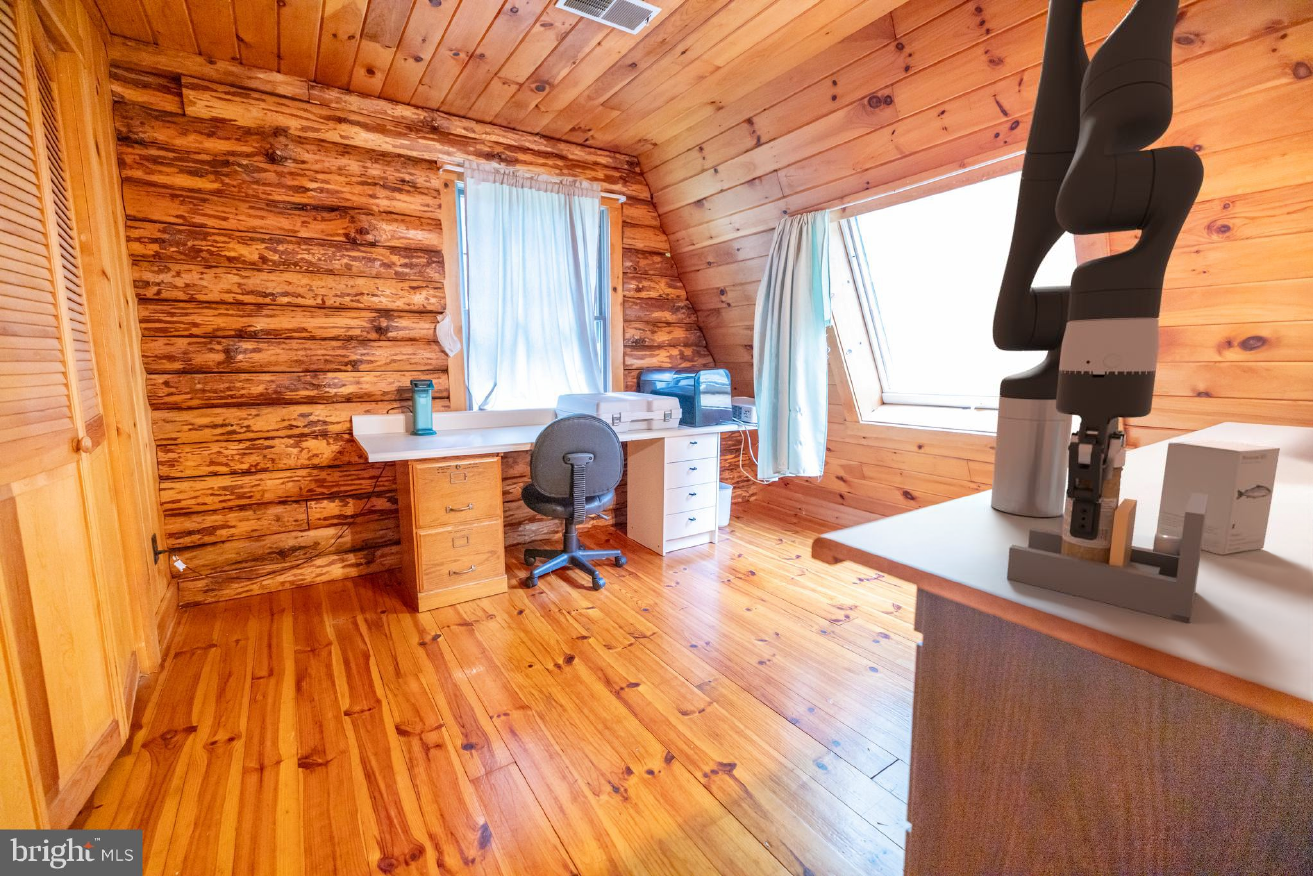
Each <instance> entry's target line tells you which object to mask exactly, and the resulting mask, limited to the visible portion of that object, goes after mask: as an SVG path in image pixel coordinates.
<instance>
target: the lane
mask: <svg viewBox="0 0 1313 876" xmlns="http://www.w3.org/2000/svg"><path fill="white" fill-rule="evenodd" d="M1208 497H1209V495H1208V494H1200V493H1192V494H1191V497H1190V500H1189V502H1188V505H1187V508H1186V511H1185V518H1184V525H1183V533H1182V538H1180V537H1174V536H1167V535H1161V534H1156V533H1155V534H1154V538H1153V539H1154V540H1153V546H1152V547H1153V548H1146V547H1141V546H1135V545H1132V549H1131V558H1130V562H1135V563H1140V564H1145V565H1150V566H1155V567H1160V574H1154V573H1149V572H1144V571H1139V570H1135V569H1130V568H1125V567H1120V566H1115V565H1110V564H1105V563H1100V562H1095V561H1091V560H1086V559H1081V558H1076V557H1071V556H1066V555H1061V549H1062V539H1063V538H1062V532H1059V531H1053V530H1049V529H1048V530H1047V529H1042V528H1036V527H1032V528H1030V529H1029V532H1028V533H1029V535H1028V544H1027V546H1021V545H1017V544H1011V545H1010V546H1009V547H1008V549H1009V550H1008V562H1007V573H1006V575H1007V576H1006V579H1008V580H1011V581H1016V582H1020V583H1023V584H1028V585H1032V586H1036V587H1040V588H1044V589H1047V590H1048V589H1049V590H1052V591H1056V592H1060V593H1065V594H1067V595H1072V596H1077V597H1080V598H1085V599H1089V600H1093V601H1097V602H1102V603H1105V604H1108V605H1109V604H1110V605H1114V606H1118V607H1121V608H1125V609H1129V610H1135V611H1137V612H1142V613H1146V614H1150V615H1154V616H1158V617H1163V618H1165V619H1166V618H1167V619H1171V620H1176V621H1179V622H1183V623H1187V624H1190V622H1191V617H1192V612H1193V607H1194V601H1195V595H1196V589H1197V583H1198V575H1199V569H1200V562H1201V554H1202V550H1201V548H1202V541H1203V533H1204V526H1205V519H1206V512H1207V504H1208Z"/></svg>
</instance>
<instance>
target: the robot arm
mask: <svg viewBox="0 0 1313 876" xmlns="http://www.w3.org/2000/svg"><path fill="white" fill-rule="evenodd" d="M1094 1H1095V2H1096V0H1049V2H1048V12H1047V19H1046V27H1045V36H1044V45H1043V53H1042V54H1043V55H1042V62H1041V69H1040V75H1039V80H1038V81H1039V83H1038V86H1037V87H1038V88H1037V90H1036V91H1037V92H1036V98H1035V101H1034V102H1035V103H1034V107H1033V108H1034V109H1033V113H1032V118H1031V123H1030V128H1029V132H1028V137H1027V141H1026V146H1025V151H1024V157H1023V161H1022V162H1023V163H1022V168H1021V174H1020V181H1019V189H1018V196H1017V201H1016V202H1017V203H1016V210H1015V218H1014V225H1013V229H1012V230H1013V232H1012V235H1011V241H1010V246H1009V251H1008V256H1007V259H1006V263H1005V268H1004V271H1003V274H1002V280H1001V284H1000V288H999V293H998V295H997V301H996V305H995V309H994V315H993V322H992V340H993V343H994V345H995V347H996V348H997V349H998V350H1001V351H1005V352H1044V351H1045V352H1046V356H1045V358H1044V360H1043V361H1041V362H1040V363H1039V364H1037V365H1036V366H1034V367H1032V368H1029V369H1027V370H1025V371H1021V372H1018V373H1015V374H1011V375H1008V376H1006V377H1004V378H1003V379H1001V382H1000V385H999V399H998V409H997V411H998V412H997V422H996V423H997V425H996V426H997V427H996V436H995V437H996V438H995V447H994V461H993V475H992V476H993V477H992V486H991V488H992V489H991V499H990V500H991V501H990V506H991V507H992V508H994V509H996V510H997V511H998V510H999V511H1001V512H1005V513H1007V514H1008V513H1009V514H1013V515H1018V516H1027V517H1037V518H1038V517H1039V518H1051V517H1052V518H1053V517H1059V516H1062V515H1063V514H1064V507H1065V497H1066V494H1067V497H1068V498H1071V500H1072V501H1073V504H1072V514H1071V523H1070V535H1071V536H1072V537H1075V538H1080V539H1086V540H1095V539H1096V538H1097V537H1098V531H1099V522H1100V513H1101V505H1102V502H1103V501H1104V499H1105V497H1104V489H1105V484H1106V483H1107V482H1110V481H1111V480H1112V479H1113V474H1114V468H1115V458H1116V454H1117V453H1119V452H1120V450H1121V447H1123V448H1125V446H1126V438H1127V433H1125V432H1124V430H1122V429H1121V430H1120V429H1119V422H1120V419H1119V418H1121V419H1122V418H1123V419H1124V418H1125V419H1128V418H1129V419H1135V418H1143V417H1147V416H1148V415H1150V414H1151V412H1152V406H1153V398H1154V390H1155V384H1156V383H1155V381H1156V373H1157V365H1158V357H1159V356H1158V355H1159V350H1160V332H1159V322H1160V321H1159V320H1160V319H1159V318H1160V313H1161V305H1162V304H1161V303H1162V295H1163V288H1164V280H1165V276H1166V275H1165V274H1166V271H1167V267H1168V263H1169V261H1170V259H1171V255H1172V252H1173V250H1174V247H1175V244H1176V242H1177V240H1178V238H1179V234H1180V233H1181V231H1182V228H1183V226H1184V224H1185V223H1186V221H1187V218H1188V216H1189V214H1190V213H1191V210H1192V208H1193V206H1194V204H1195V202H1196V200H1197V198H1198V196H1199V193H1200V191H1201V188H1202V185H1203V183H1204V176H1205V167H1204V164H1203V161H1202V158H1201V157H1200V156H1199V154H1198V153H1197V152H1196V151H1195V150H1194V149H1192V148H1191V147H1189V146H1184V145H1171V146H1164V147H1163V146H1162V147H1157V148H1150V149H1146V148H1147V147H1149V146H1151V145H1152V144H1154V143H1155V142H1157V141H1158V140H1160V139H1161V137H1162V136H1163V135H1164V134H1166V132H1167V130H1168V129H1169V127H1170V124H1171V122H1172V119H1173V114H1174V113H1173V112H1174V100H1173V99H1174V98H1173V97H1174V94H1173V91H1174V90H1173V89H1174V88H1173V87H1174V86H1173V58H1172V57H1173V42H1174V41H1173V40H1174V34H1175V26H1176V20H1177V16H1178V11H1179V7H1180V1H1181V0H1136V2H1135V3H1134V4H1133V5H1132V7H1131V9H1130V10H1129V11H1128V13H1126V15H1125V16H1124V17H1123V19H1122V20H1121V21H1120V22H1119V23H1118V24H1117V25H1116V27H1115V28H1114V29H1113V30H1112V31H1111V33H1110V34H1109V35H1108V36H1107V37H1106V39H1105V40H1104V41H1103V42H1102V43H1101V45H1100V47H1098V49H1097V50H1096V52H1095V53H1094V55H1093V56H1092V58H1091V60H1090V58H1089V55H1088V52H1087V49H1086V46H1085V42H1084V41H1085V40H1084V35H1083V17H1082V16H1083V7H1084V3H1087V2H1094ZM1136 230H1137V231H1141V233H1140V236H1139V238H1138V241H1137V242H1136V243H1135V245H1134V246H1132V247H1131V248H1129V249H1128V250H1125V251H1122V252H1119V253H1117V254H1116V253H1115V254H1112V255H1107V256H1103V257H1099V258H1094V259H1091V260H1088V261H1084V262H1082V263H1081V264H1079V265H1078V266H1076V267H1075V268H1074V270H1073V273H1072V274H1071V278H1070V285H1049V286H1047V285H1046V286H1032V285H1033V282H1034V279H1035V277H1036V275H1037V273H1038V271H1039V269H1040V266H1041V265H1042V262H1043V261H1044V260H1045V258H1046V257H1047V255H1048V254H1049V252H1050V251H1051V249H1052V248H1053V247H1054V245H1055V244H1056V243H1057V242H1058V241H1059V240H1060V238H1061V237H1062V236H1063V235H1065V233H1068V234H1070V235H1071V234H1072V235H1076V236H1086V235H1087V236H1089V235H1099V234H1100V235H1101V234H1108V233H1120V232H1122V233H1123V232H1131V231H1136ZM1073 416H1078V417H1079V418H1080V423H1079V428H1078V429H1077V430H1076V432H1072V425H1073ZM1108 449H1109V452H1108ZM1068 453H1069V461H1068ZM1107 453H1108V459H1107ZM1106 461H1107V465H1106V469H1105V470H1104V471H1102V466H1104V465H1105V464H1106ZM1082 479H1087V480H1091V481H1093V488H1086V487H1080V483H1081V480H1082ZM1066 485H1067V486H1066ZM1067 487H1068V489H1066V488H1067Z"/></svg>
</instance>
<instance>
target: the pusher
mask: <svg viewBox="0 0 1313 876" xmlns="http://www.w3.org/2000/svg"><path fill="white" fill-rule="evenodd" d="M1137 505H1138V500H1137V499H1132V498H1123V500H1122V501H1121V503H1120V504H1119V505H1118V508H1117V509H1116V510H1115V516H1114V525H1113V534H1112V543H1111V552H1110V561H1109V564H1110V565H1115V566H1120V567H1125V568H1130V569H1135V570H1139V571H1144V572H1149V573H1154V574H1160V567H1155V566H1150V565H1145V564H1140V563H1135V562H1130V558H1131V549H1132V546H1133V540H1134V539H1133V538H1134V532H1135V524H1136V523H1135V521H1136V514H1137V513H1136V512H1137Z"/></svg>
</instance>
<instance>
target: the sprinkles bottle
mask: <svg viewBox="0 0 1313 876" xmlns="http://www.w3.org/2000/svg"><path fill="white" fill-rule="evenodd" d="M1108 452H1109V449H1108ZM1126 455H1127V450H1126V448H1125V447H1124V448H1123V447H1121V450H1120V452H1119V453H1117V454H1116V458H1115V468H1114V474H1113V479H1112V480H1111V481H1110V482H1107V483H1106V484H1105V489H1104V497H1105V499H1104V501H1103V502H1102V505H1101V513H1100V522H1099V531H1098V537H1097V538H1096V539H1095V540H1086V539H1080V538H1075V537H1072V536H1071V535H1070V523H1071V514H1072V504H1073V501H1072V500H1071V498H1068V497H1067V494H1066V493H1065V500H1064V511H1063V514H1064V515H1063V522H1062V532H1061V533H1062V538H1063V539H1062V549H1061V555H1066V556H1071V557H1076V558H1081V559H1086V560H1091V561H1095V562H1100V563H1105V564H1109V561H1110V552H1111V543H1112V534H1113V525H1114V516H1115V510H1116V509H1117V508H1118V506H1119V505H1120V504H1119V503H1120V492H1121V482H1122V481H1121V479H1122V472H1123V470H1124V468H1123V467H1124V466H1126V465H1125V464H1126ZM1107 459H1108V453H1107ZM1068 462H1069V453H1068ZM1106 465H1107V461H1106V464H1105V465H1104V466H1102V471H1104V470H1105V469H1106ZM1080 487H1086V488H1093V481H1091V480H1087V479H1082V480H1081V483H1080ZM1066 488H1067V489H1068V486H1066ZM1067 489H1066V490H1067Z"/></svg>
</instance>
